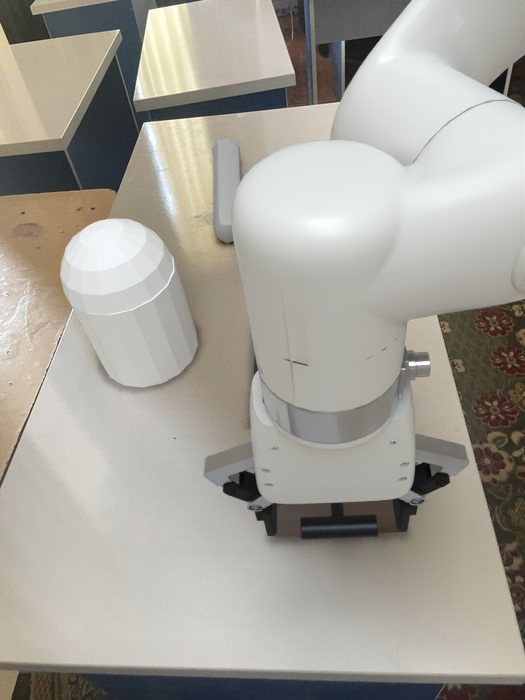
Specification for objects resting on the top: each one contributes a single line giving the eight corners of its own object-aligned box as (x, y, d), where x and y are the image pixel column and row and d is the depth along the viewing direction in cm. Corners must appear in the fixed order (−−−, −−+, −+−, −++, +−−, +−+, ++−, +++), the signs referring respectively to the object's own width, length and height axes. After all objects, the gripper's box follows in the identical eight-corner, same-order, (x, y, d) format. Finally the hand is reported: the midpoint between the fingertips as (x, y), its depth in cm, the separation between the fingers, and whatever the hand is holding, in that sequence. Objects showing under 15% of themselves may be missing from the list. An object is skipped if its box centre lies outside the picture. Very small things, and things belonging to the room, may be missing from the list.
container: (92, 390, 74) (24, 274, 59) (111, 317, 82) (57, 200, 68) (193, 384, 72) (151, 264, 57) (202, 310, 81) (167, 189, 66)
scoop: (406, 559, 48) (411, 530, 43) (276, 564, 49) (268, 536, 45) (378, 382, 60) (380, 346, 56) (276, 389, 61) (269, 353, 57)
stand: (403, 532, 57) (408, 499, 51) (273, 537, 58) (265, 506, 53) (385, 419, 65) (388, 382, 60) (273, 425, 67) (266, 389, 61)
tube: (248, 224, 87) (243, 140, 103) (213, 219, 86) (213, 135, 102) (242, 251, 91) (238, 166, 107) (209, 247, 90) (209, 162, 106)
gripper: (477, 315, 32) (441, 467, 45) (180, 335, 34) (226, 476, 47) (514, 425, 27) (461, 561, 40) (164, 443, 29) (220, 568, 42)
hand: (335, 515), depth 43 cm, fingers open, 9 cm apart
